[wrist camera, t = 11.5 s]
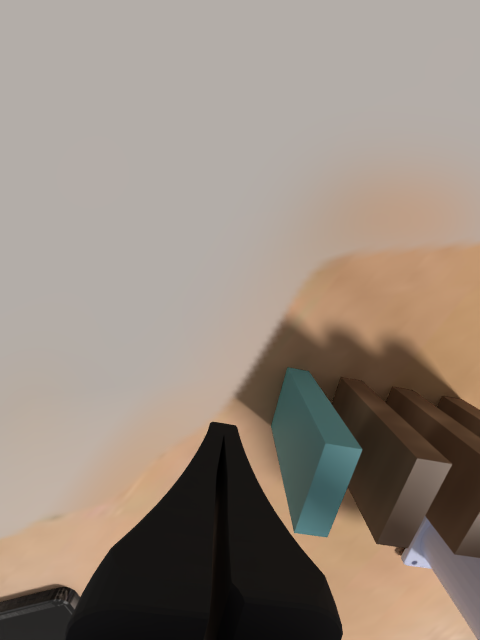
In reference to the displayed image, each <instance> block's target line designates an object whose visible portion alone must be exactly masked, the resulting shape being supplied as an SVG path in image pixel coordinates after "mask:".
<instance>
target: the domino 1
mask: <svg viewBox="0 0 480 640" xmlns="http://www.w3.org/2000/svg"><path fill="white" fill-rule="evenodd" d="M332 406H333V407H334V409H335V410H336V411H337V413H338V414H339V416H340V417H341V419H342V420H343V422H344V423H345V425H346V426H347V427H348V429H349V430H350V432H351V433H352V435H353V436H354V438H355V439H356V441H357V442H358V443H359V445H360V446H361V448H362V449H363V450H362V452H361V455H360V457H359V460H358V462H357V465H356V467H355V470H354V472H353V475H352V477H351V480H350V482H349V485H348V488H349V490H350V492H351V494H352V496H353V498H354V500H355V502H356V504H357V506H358V508H359V510H360V512H361V514H362V516H363V518H364V520H365V522H366V524H367V526H368V528H369V530H370V532H371V534H372V536H373V538H374V540H375V542H376V544H381V545H388V546H395V547H403V548H409V546H410V544H411V542H412V540H413V538H414V536H415V534H416V532H417V530H418V528H419V527H420V525H421V523H422V521H423V519H424V517H425V515H426V513H427V511H428V509H429V508H430V506H431V504H432V502H433V500H434V498H435V496H436V494H437V492H438V490H439V489H440V487H441V485H442V483H443V481H444V479H445V477H446V475H447V473H448V471H449V470H450V468H451V466H452V463H451V462H450V461H448V460H447V459H446V458H445V457H444V456H443V455H442V454H441V453H440V452H439V451H438V450H436V449H435V448H434V447H433V446H432V445H431V444H430V443H429V442H428V441H427V440H426V439H424V438H423V437H422V436H421V435H420V434H419V433H418V432H417V431H416V430H415V429H414V428H413V427H411V426H410V425H409V424H408V423H407V422H406V421H405V420H404V419H403V418H402V417H401V416H399V415H398V414H397V413H396V412H395V411H394V410H393V409H392V408H391V407H390V406H389V405H387V404H386V403H385V402H384V401H383V400H382V399H381V398H380V397H379V396H378V395H377V394H375V393H374V392H373V391H372V390H371V389H370V388H369V387H368V386H367V385H366V384H365V383H364V382H362V381H360V380H354V379H349V378H343V377H341V379H340V381H339V384H338V387H337V390H336V393H335V396H334V399H333V402H332Z"/></svg>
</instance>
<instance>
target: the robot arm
mask: <svg viewBox="0 0 480 640" xmlns="http://www.w3.org/2000/svg"><path fill="white" fill-rule="evenodd" d="M401 559H402V561H403V563H404V564H405V565H408V566H415V567H423V568H431V569H432V570H433V571H434V573H435V574H436V576H437V577H438V579H439V581H440V582H441V584H442V585H443V587H444V588H445V590H446V591H447V593H448V594H449V596H450V598H451V599H452V601H453V602H454V604H455V605H456V607H457V608H458V610H459V612H460V613H461V615H462V616H463V618H464V619H465V621H466V622H467V624H468V625H469V627H470V629H471V630H472V632H473V633H474V635H475V636H476V638H477V639H478V640H480V558H476V557H469V556H461V555H454V553H453V552H452V551H451V549H450V548H449V547H448V545H447V544H446V543H445V541H444V540H443V539H442V538H441V536H440V535H439V534H438V532H437V531H436V530H435V528H434V527H433V526H432V524H431V523H430V522H429V520H428V519H427V518H426V516H425V517H424V519H423V521H422V523H421V525H420V527H419V528H418V530H417V532H416V534H415V536H414V538H413V540H412V542H411V544H410V546H409V548H405V550H404V552H403V554H402V556H401ZM342 635H343V631H342V624H341V621H340V617H339V614H338V611H337V607H336V604H335V601H334V599H333V596H332V593H331V591H330V588H329V585H328V583H327V580H326V578H325V575H324V574H323V573H322V572H321V571H320V570H319V568H318V567H317V566H316V565H315V564H314V563H313V561H312V560H311V559H310V558H309V557H308V556H307V554H306V553H305V552H304V551H303V550H302V549H301V547H300V546H299V545H298V543H297V542H296V541H295V539H294V538H293V537H292V535H291V534H290V533H289V531H288V530H287V528H286V527H285V525H284V524H283V522H282V521H281V520H280V518H279V517H278V515H277V514H276V512H275V511H274V509H273V507H272V506H271V504H270V502H269V501H268V499H267V497H266V496H265V494H264V492H263V490H262V488H261V487H260V485H259V483H258V481H257V479H256V477H255V474H254V472H253V470H252V468H251V466H250V463H249V461H248V459H247V456H246V454H245V451H244V448H243V445H242V443H241V440H240V436H239V433H238V429H237V427H236V425H230V424H224V423H218V422H211V423H210V426H209V429H208V432H207V434H206V436H205V438H204V440H203V442H202V444H201V446H200V447H199V449H198V451H197V453H196V454H195V456H194V457H193V459H192V460H191V462H190V464H189V465H188V467H187V468H186V469H185V471H184V472H183V474H182V475H181V476H180V478H179V479H178V480H177V481H176V483H175V484H174V485H173V486H172V488H171V489H170V490H169V491H168V492H167V494H166V495H165V496H164V497H163V498H162V499H161V500H160V502H159V503H158V504H157V505H156V506H155V507H154V508H153V509H152V510H151V511H150V512H149V513H148V514H147V515H146V516H145V517H144V518H143V519H142V520H141V521H140V522H139V523H138V524H137V525H136V526H135V527H134V528H133V529H132V530H131V531H130V532H128V533H127V534H126V535H125V536H124V537H123V538H122V539H121V540H120V541H118V542H117V543H116V544H115V545H114V546H113V547H112V548H111V549H110V550H109V552H108V553H107V555H106V556H105V558H104V559H103V561H102V562H101V563H100V565H99V567H98V568H97V570H96V571H95V573H94V574H93V576H92V578H91V579H90V581H89V583H88V584H87V586H86V588H85V590H84V591H83V593H82V595H81V597H80V599H79V601H78V603H77V606H76V608H75V610H74V612H73V614H72V616H71V618H70V620H69V622H68V625H67V628H66V632H65V640H341V638H342Z"/></svg>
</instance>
